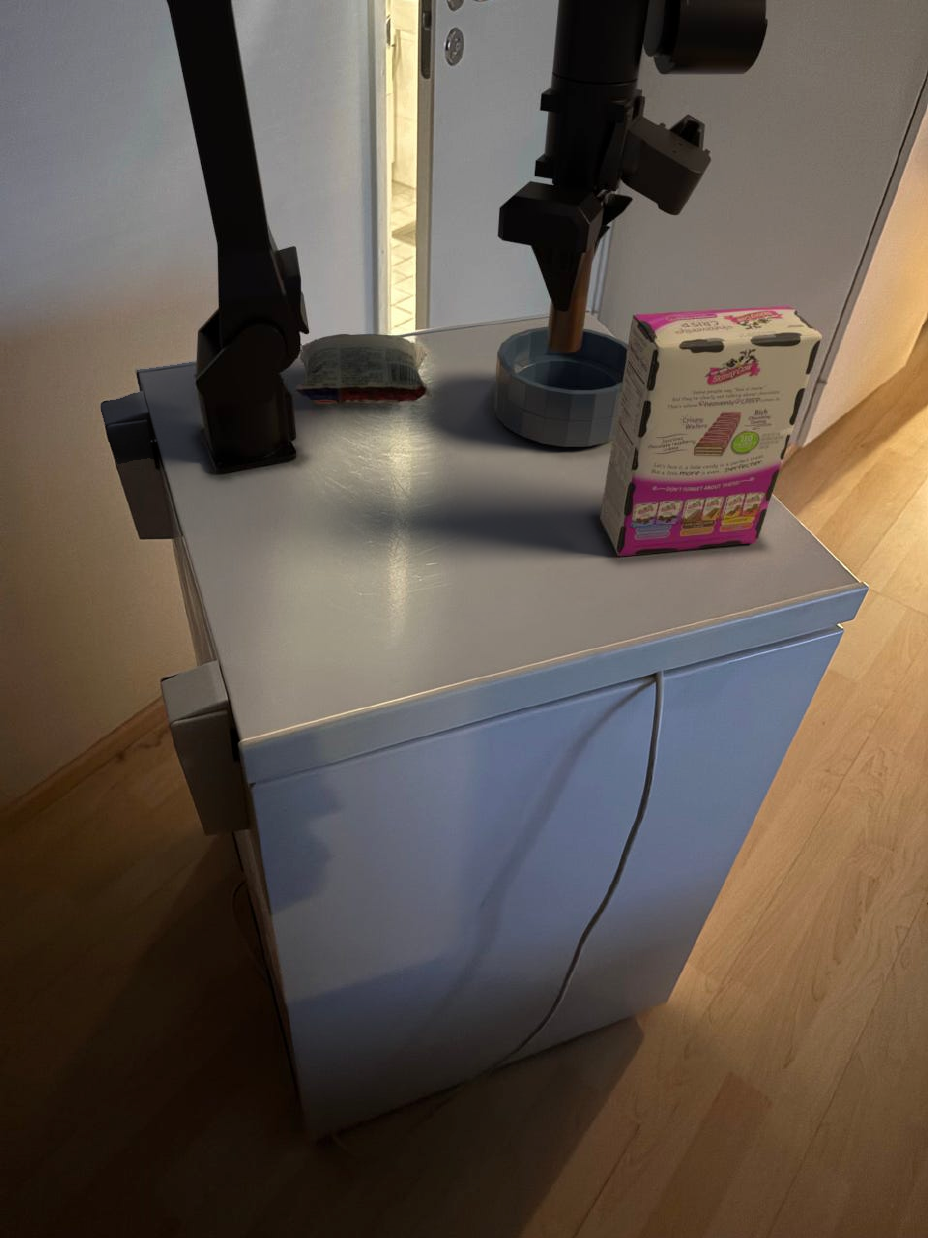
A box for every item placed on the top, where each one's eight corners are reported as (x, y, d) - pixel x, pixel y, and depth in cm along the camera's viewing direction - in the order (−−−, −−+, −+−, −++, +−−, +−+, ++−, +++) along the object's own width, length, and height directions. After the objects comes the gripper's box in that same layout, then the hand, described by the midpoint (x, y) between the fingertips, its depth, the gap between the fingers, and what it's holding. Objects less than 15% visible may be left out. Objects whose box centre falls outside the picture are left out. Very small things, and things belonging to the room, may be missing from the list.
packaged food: (302, 367, 83) (297, 317, 80) (428, 368, 84) (430, 318, 81) (296, 416, 77) (291, 363, 74) (433, 416, 78) (434, 365, 75)
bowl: (531, 464, 73) (538, 404, 69) (471, 394, 81) (474, 337, 77) (657, 438, 77) (670, 379, 73) (588, 373, 85) (596, 318, 81)
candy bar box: (730, 506, 70) (792, 302, 59) (757, 545, 66) (829, 336, 55) (594, 517, 68) (631, 309, 57) (614, 558, 64) (658, 344, 53)
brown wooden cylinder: (556, 355, 71) (569, 239, 65) (540, 340, 73) (552, 226, 67) (587, 350, 72) (603, 235, 66) (570, 335, 74) (584, 222, 67)
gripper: (686, 124, 51) (639, 376, 61) (739, 62, 64) (692, 279, 74) (503, 98, 54) (488, 343, 64) (589, 44, 66) (564, 255, 77)
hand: (567, 302), depth 70 cm, fingers closed on brown wooden cylinder, 3 cm apart
